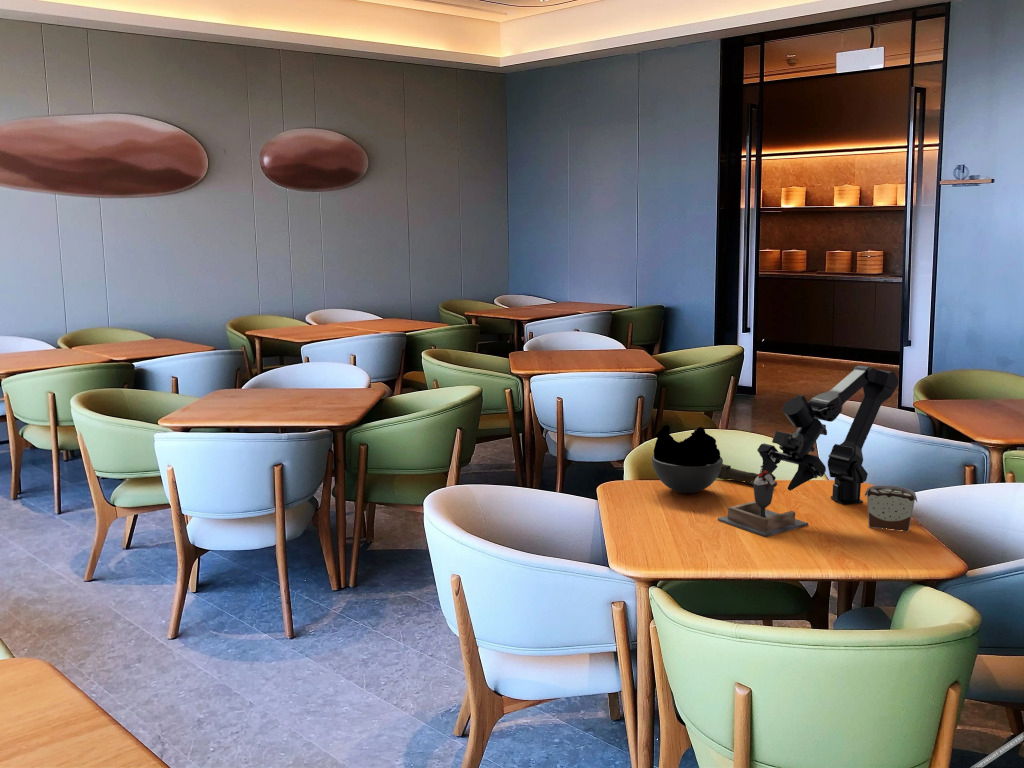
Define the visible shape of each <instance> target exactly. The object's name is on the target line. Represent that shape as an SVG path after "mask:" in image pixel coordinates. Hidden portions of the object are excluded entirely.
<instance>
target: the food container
mask: <svg viewBox="0 0 1024 768" xmlns="http://www.w3.org/2000/svg"><path fill="white" fill-rule="evenodd" d="M865 497H866V500H867V501H866V502H867V503H866V504H867V518H868V519H867V520H868V528H869V527H873V528H872V529H876V528H883V529H882V530H884V529H886V528H887V529H894V530H903V531H909V532H910V527H911V522H912V517H913V512H914V506H915V502H916V503H918V497H917V495H916V492H915V491H914V490H911V489H909V488H905V487H902V486H896V485H885V484H884V485H882V484H881V485H872V486H870V487H868V488H866V491H865V493H864V498H865Z"/></svg>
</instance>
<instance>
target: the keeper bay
mask: <svg viewBox="0 0 1024 768" xmlns="http://www.w3.org/2000/svg"><path fill="white" fill-rule="evenodd" d="M760 512H761V508H760V507H759V506H758V505H757V504H756V502H755V500H753V501H750V502H749V501H748V502H746V503H741V504H738V505H733V506H728V507H727V515H725V516H720V517H717V521H719V522H721V523H725V524H727V525H730V526H732V527H735V528H739V529H742V530H744V531H747V532H750V533H752V534H756V535H758V536H761V537H764V538H768V537H771V536H773V535H774V536H775V535H778V534H781V533H784V532H785V533H786V532H788V531H793V530H797V529H800V528H803V527H806V526H809V522H806V521H803V520H801V519H797V518H796V511H794V510H790V511H786V512H782V513H778V512H775V511H772V510H770V509H767V508H765V516H766V518H764V517H761V516H759V515H760Z"/></svg>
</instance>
